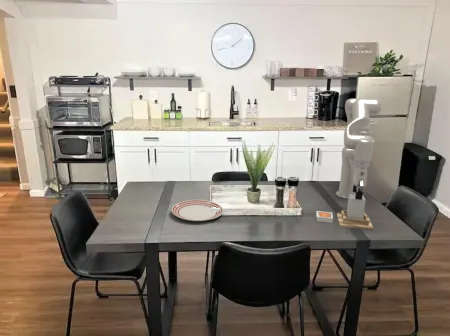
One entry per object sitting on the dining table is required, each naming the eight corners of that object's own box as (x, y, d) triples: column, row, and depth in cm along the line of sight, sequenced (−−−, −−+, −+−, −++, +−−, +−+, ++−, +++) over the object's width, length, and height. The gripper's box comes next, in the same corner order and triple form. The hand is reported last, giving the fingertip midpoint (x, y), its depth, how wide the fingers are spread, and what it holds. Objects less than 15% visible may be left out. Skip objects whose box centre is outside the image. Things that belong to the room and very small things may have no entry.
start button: (319, 215, 193) (319, 211, 192) (328, 216, 192) (329, 212, 191) (319, 219, 188) (319, 215, 187) (329, 220, 187) (329, 216, 186)
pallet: (336, 214, 196) (337, 208, 195) (367, 217, 193) (368, 211, 192) (339, 226, 181) (340, 220, 180) (373, 230, 178) (374, 223, 177)
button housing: (315, 215, 195) (316, 210, 194) (331, 216, 193) (331, 212, 192) (316, 221, 187) (317, 216, 186) (332, 223, 186) (333, 218, 185)
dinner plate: (233, 214, 194) (234, 208, 193) (196, 230, 174) (196, 223, 173) (198, 201, 212) (198, 196, 211) (160, 214, 192) (160, 208, 191)
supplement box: (362, 223, 183) (366, 199, 180) (347, 221, 185) (350, 198, 181) (360, 217, 190) (363, 194, 187) (345, 216, 192) (348, 193, 188)
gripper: (372, 169, 170) (367, 202, 175) (366, 159, 186) (362, 190, 191) (355, 167, 172) (351, 201, 177) (351, 158, 188) (347, 189, 193)
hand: (357, 195), depth 184 cm, fingers open, 9 cm apart
